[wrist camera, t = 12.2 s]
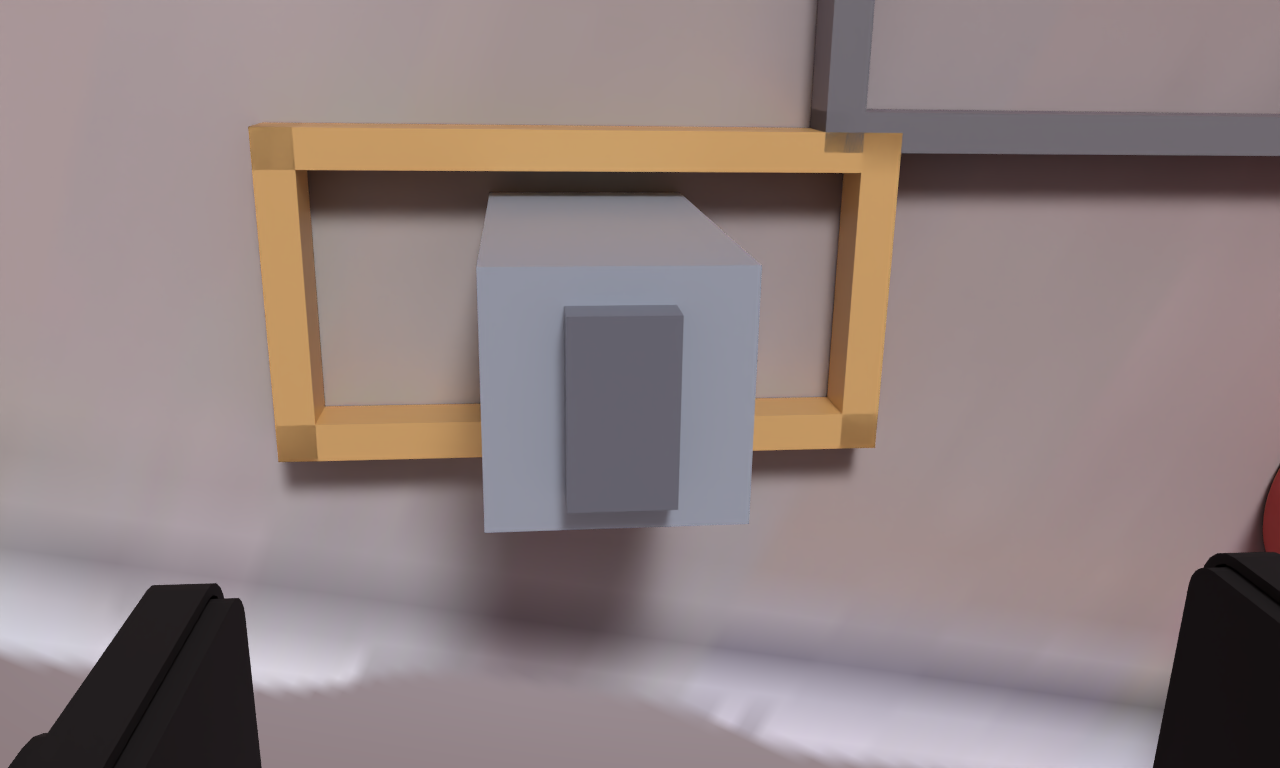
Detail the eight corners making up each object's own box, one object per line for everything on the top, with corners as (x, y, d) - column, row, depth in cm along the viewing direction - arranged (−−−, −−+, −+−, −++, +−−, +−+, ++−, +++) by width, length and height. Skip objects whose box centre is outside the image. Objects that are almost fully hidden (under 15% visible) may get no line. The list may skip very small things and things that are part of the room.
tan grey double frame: (1434, -184, 28) (1484, -197, 26) (1304, 419, 33) (1340, 436, 31) (231, -240, 24) (213, -258, 23) (290, 441, 29) (278, 462, 28)
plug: (679, 192, 28) (772, 274, 18) (675, 372, 30) (758, 542, 20) (489, 192, 28) (474, 276, 18) (494, 375, 29) (483, 551, 19)
